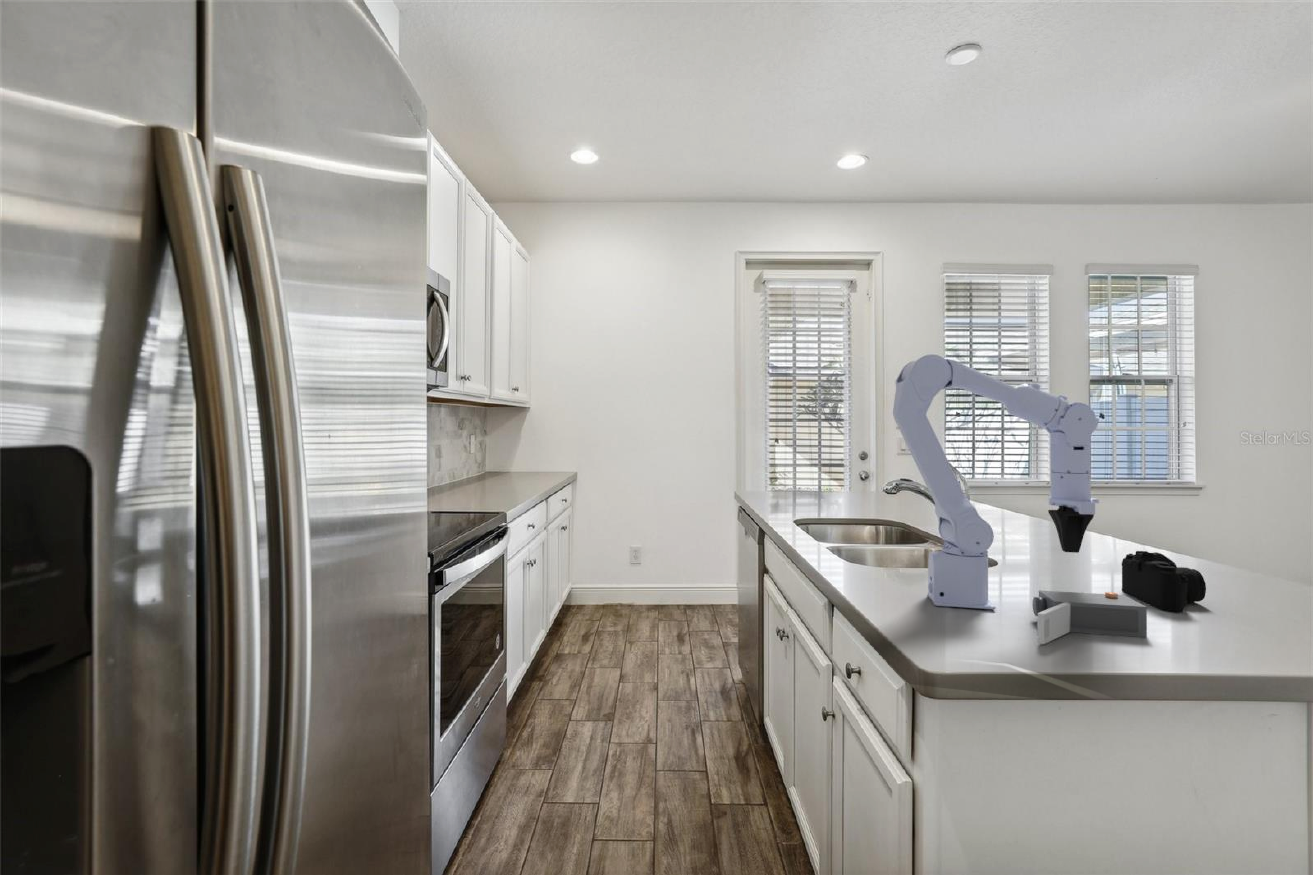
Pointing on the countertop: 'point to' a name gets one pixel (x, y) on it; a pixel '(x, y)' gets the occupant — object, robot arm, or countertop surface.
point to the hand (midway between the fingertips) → (1070, 551)
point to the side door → (1053, 622)
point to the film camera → (1161, 581)
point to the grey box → (1098, 612)
